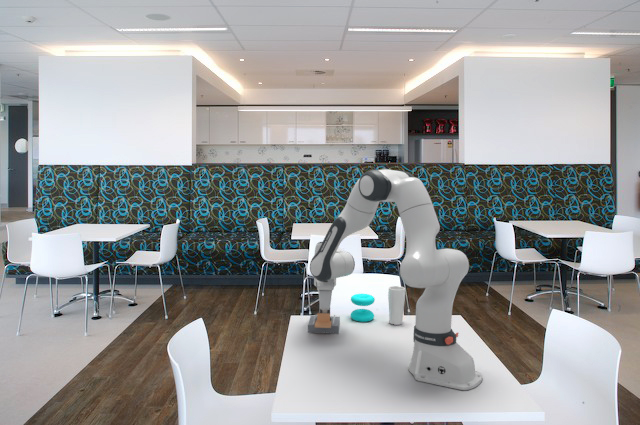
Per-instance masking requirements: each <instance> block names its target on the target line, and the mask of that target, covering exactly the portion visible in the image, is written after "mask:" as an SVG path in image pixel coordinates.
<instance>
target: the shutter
mask: <svg viewBox="0 0 640 425" xmlns="http://www.w3.org/2000/svg"><path fill="white" fill-rule="evenodd" d="M316 314H317V320H316V322H315V328H331V324H332V321H330V316H331V312H330V313H319V312H317V313H316Z"/></svg>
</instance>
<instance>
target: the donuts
mask: <svg viewBox="0 0 640 425" xmlns="http://www.w3.org/2000/svg"><path fill="white" fill-rule="evenodd" d="M375 300H376V298H375V297H374V296H373V295H371V294H368V293H356V294H352V295H351V297H350V301H351V303H352V304H354V305H355V306H359V307H367V306H368V307H369V306H371V305H373V304H374V303H375ZM350 318H351V319H352V320H354V321H356V322H362V323H365V322H366V323H367V322H370V321H373V319H374V318H375V314H374V312H373V311H372V310H369V309H366V308H357V309H354V310H352V312H350Z"/></svg>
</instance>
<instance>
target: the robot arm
mask: <svg viewBox="0 0 640 425" xmlns="http://www.w3.org/2000/svg"><path fill="white" fill-rule="evenodd" d="M359 177H360V178H359V179H357V181H356V182H355V184H354V186H353V187H352V190H351V191H350V193H349V196H348V199H347V202H346V204H345V206H344V208H343V209H342V211H341V212H340V213H339V215H338V216H337V217H336V219H334V221H333V222H332V223H331V225H330V227H328V228H329V229H328V231H327V233H326V235H325V236H324V239H323V241H319V242H317V243H316V244H315V248H314V254H313V256H312V259H311V260H310V263H309V271H310V274H311V275H312V276H313V285H314V286H315V287H316V290H317V291H318V302H319V304H320V309H321V310H322V312H323V313H327V310H329V309H330V310H331V304H332V303H331V302H332V294H333V291H334V289H335V287H336V285H337V279H338V278H344V277H347V276H350V275H351V274H353V272H354V270H355V265H356V264H355V263H356V262H355V258H354V257H353V254H351V253H350V252H348V251H345V250H343V249H342V248H340V247H339V246H340V244H341V243H342V242H343V241H344V239H346V238H347V237H349V236H350V235H353V234H355V233H357V232H360V231H362V230H364V229H366V228H367V227H368V226H370V224H371V223H372V222H373V220H374V217H375V215H376V213H377V210H378V207H379V204H380V202H386V203H395V204H396V208H397V211H398V214H399V217H400V221H401V224H402V227H403V230H404V236H405V240H406V250H405V255H404V258H403V259H402V261H401V262H400V266H399V274H400V278H401V279H402V281H403V282H404V284H405V285H407V286H408V287H411V288H417V289H424V290H423V293H422V294H421V296H420V297H419V298H418V300H417V302H416V303H415V323H414V324H415V325H414V326H413V339H412V340H413V350H412V355H411V360H410V363H409V367H408V371H409V373H411V374H412V375H413V377H414V379H415V380H416V381H419V382H422V383H427V384H432V385H438V386H441V387H446V388H451V389H455V390H460V391H467V390H468V391H469V390H472V389H474V388H476V387H477V386H479V385H480V384H481V383H482V381H483V375H482V372H480V371H478V370H477V371H476V368H475V367H476V366H475V361H474V358H473V356H472V355H471V354H469V353H468V352H467V351H466V350H465V349H464V348H463V347H462V346H461V345H460V344H459V343H458V342H457V338H458V337H459V332H456V333H455V332H454V331H453V329H452V318H453V316H452V315H453V306H454V300H455V297H456V294H457V291H458V289H459V287H460V285H461V282H462V281H463V279H464V278H465V276H467V274H468V272H469V269H470V262H469V259H468V257H467V255H466V254H465V253H464V252H463V251H461V250H458V249H454V248H440V249H437V246H436V238H437V237H436V236H437V235H438V234H439V232H440V230H441V228H440V227H441V226H440V225H441V224H440V222H439V219H438V217H437V216H438V215H437V213H436V211H435V208H434V207H435V206H434V205H433V202H432V199H431V195H429V192H428V190H427V188H426V186H425V185H424V183H423V181H422V180H421V179H419V178H418V177H415V176H414V174H412V173H410V172H408V171H405V170H397V169H395V170H393V169H389V168H387V169H385V168H384V169H370V170H368V171H365V172H364V173H363V174H361V175H360V176H359Z"/></svg>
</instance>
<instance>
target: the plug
mask: <svg viewBox="0 0 640 425" xmlns="http://www.w3.org/2000/svg"><path fill="white" fill-rule="evenodd" d="M318 308H319V309H318V310H319V311H318V313H323V312H322V310H321V309H320V303H319V306H318ZM327 313H330V314H331V308H330V309H329V310H327Z"/></svg>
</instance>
